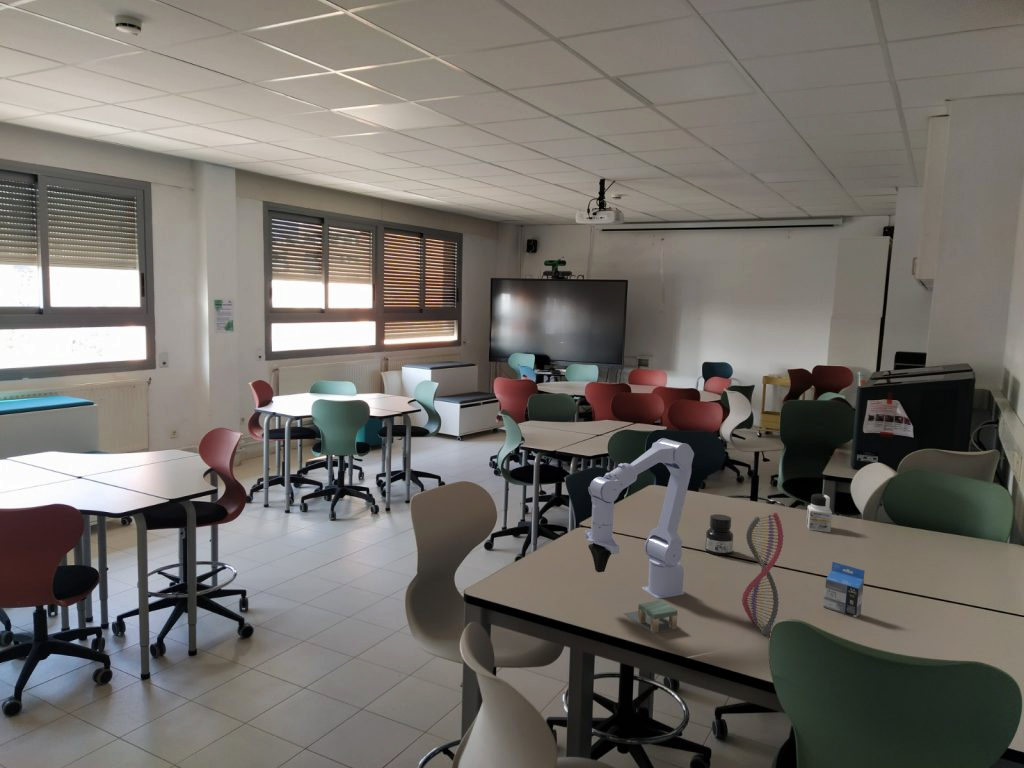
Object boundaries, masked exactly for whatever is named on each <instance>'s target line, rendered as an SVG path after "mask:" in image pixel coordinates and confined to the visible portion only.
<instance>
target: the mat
mask: <svg viewBox="0 0 1024 768" xmlns="http://www.w3.org/2000/svg"><path fill="white" fill-rule="evenodd" d="M623 615H624V616H625V617H627V618H628V619H630V620H631V621H633V622H634V623H636V624H637V625H638V626H640V627H641V628H643V629H644V630H645V631H647V633H649V634H651V635H655V634H656V635H657V634H660V633H666V632H671V631H676V630H681V629H682V628H681V627H679V626H678V625H677V628H675V629H671V628H670V627H669V618H667V617H666V618H663V619H661V620H659V629H658V632H652V631H651V630H650V629H651V617H650V616H649V615H647V614H646V619H645V623H640V622H638V610H635V611H630V612H624V613H623Z"/></svg>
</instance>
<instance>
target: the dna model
mask: <svg viewBox="0 0 1024 768" xmlns="http://www.w3.org/2000/svg"><path fill="white" fill-rule="evenodd" d="M778 515H779V514H778V513H777V512H776V511H773V512H772V514H767V516H765V517H759V516H755V517H754V519H752V521H751V522H750V524H749V526H748V527H747V531H746V535H745V536H746V543H747V545H748V548H749V550H750V552H751V554H752V556H753V557H754V558H755V560H756V561H757V563H758V565H759V567H761V571H760V573H759V574H757V576H756V577H755V578H754V579H753V580H752V581H750V583H748V585H747V586H746V588H745V589H744V591H743V592H742V597H741V603H742V607H743V610H744V611H745V613H746V615H747V616H748V618H749V619H750V621H751V622H752V623H754V624H755V625H756V626H758V627H759V629H760V630H761V634H762V636H766V635H768V632H770V630H771V629H772V626H773V625H774V623H775V619H776V618H777V615H778V611H779V603H780V602H779V593H778V590H777V589H778V588H777V586H776V583H775V581H774V579H773V576H772V574H771V572H770V571H771V569H772V568H774V567H773V566H775V565H776V562H777V561H778V559H779V556H780V555H781V552H782V548H783V544H784V542H783V541H784V531H783V528H782V526H783V525H782V523H781V522H782V521H781V520H780V516H778ZM772 517H773V518H772ZM766 518H767V519H766ZM774 530H777V531H774ZM776 537H778V538H776ZM759 540H760V541H759ZM775 540H776V541H775ZM762 541H763V542H762ZM773 543H774V544H773ZM764 550H765V551H764ZM774 550H775V551H774ZM772 553H773V554H772ZM764 577H765V578H764ZM765 580H767V581H765ZM767 583H768V584H767ZM767 586H770V587H767ZM769 589H771V590H769ZM759 590H760V591H759ZM761 590H762V591H761ZM768 593H772V594H768ZM767 596H772V597H767ZM764 599H766V600H764ZM764 602H766V603H764ZM770 603H773V604H770ZM765 605H766V606H765ZM769 606H770V607H769ZM771 606H772V607H771ZM767 609H768V610H767ZM771 610H772V611H771ZM763 611H764V612H763ZM766 612H767V613H766ZM760 613H761V614H760ZM769 613H770V614H769ZM763 614H764V615H763ZM768 616H769V617H768ZM766 619H767V620H766ZM764 621H765V622H764ZM763 624H764V625H765V626H764V625H763Z"/></svg>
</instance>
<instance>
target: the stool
mask: <svg viewBox="0 0 1024 768" xmlns="http://www.w3.org/2000/svg"><path fill="white" fill-rule="evenodd" d="M637 606H638V609H637V611H638V622H640V623H645V619H646V614H647V615H649V616H650V617H651V629H650V630H651V631H652V632H658V629H659V620H661V619H663V618H666V619H667V618H668V620H669V627H670V628H671V629H675V628H677V626H678V624H677V622H678V610H677V609H676V608H674V607H672V606H671V605H669V604H668V603H666V602H665V601H663V600H661V599H658V600H653V601H649V602H642V603H638V605H637Z"/></svg>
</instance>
